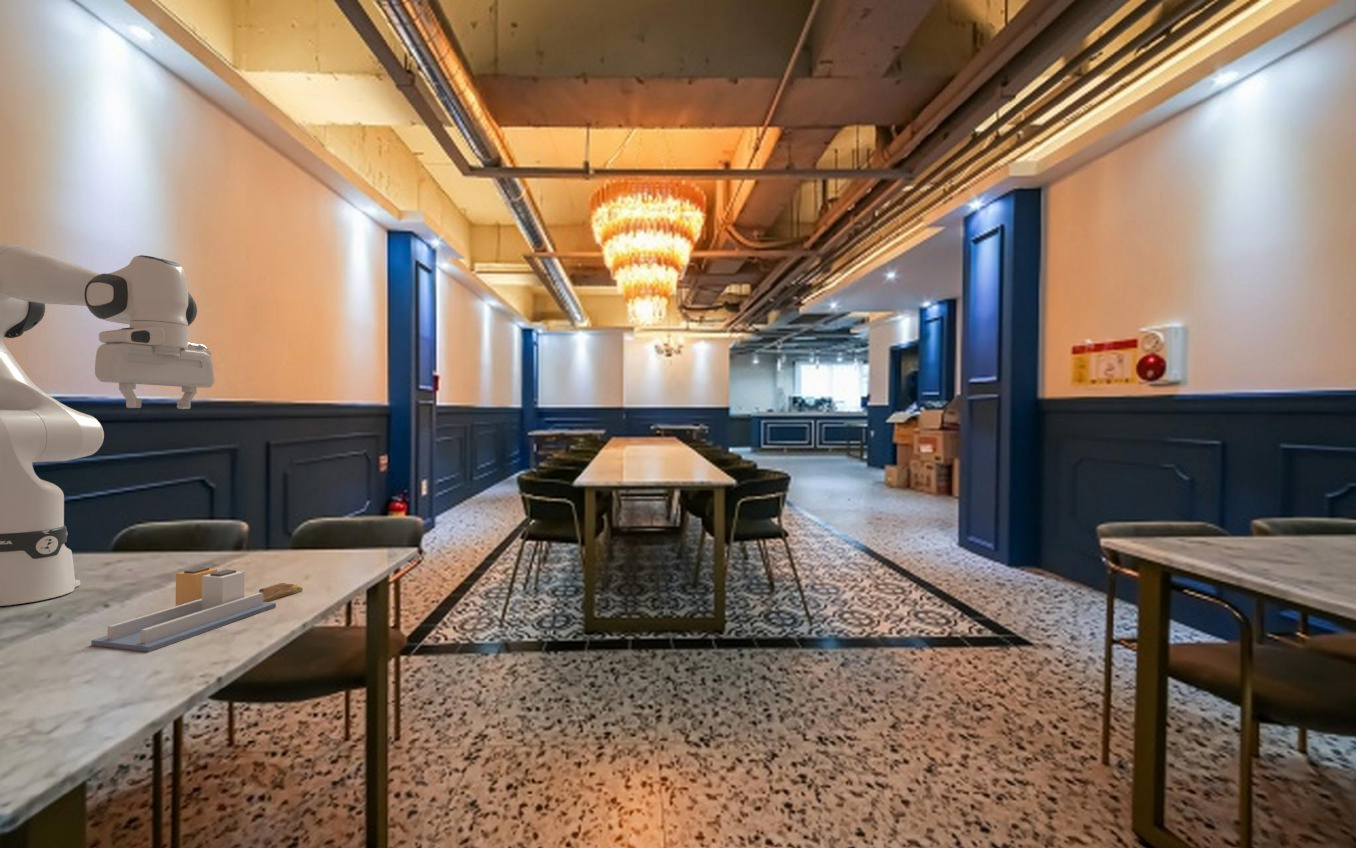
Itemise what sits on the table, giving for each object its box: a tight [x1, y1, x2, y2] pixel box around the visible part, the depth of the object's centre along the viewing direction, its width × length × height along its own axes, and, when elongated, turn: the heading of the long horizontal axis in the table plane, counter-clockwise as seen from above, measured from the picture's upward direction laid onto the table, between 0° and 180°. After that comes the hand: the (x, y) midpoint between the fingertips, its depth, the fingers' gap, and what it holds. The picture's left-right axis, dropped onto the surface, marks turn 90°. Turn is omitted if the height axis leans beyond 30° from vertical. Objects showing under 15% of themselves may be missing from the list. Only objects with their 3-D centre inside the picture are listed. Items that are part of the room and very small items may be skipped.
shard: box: [258, 582, 303, 603], centre depth 128 cm, size 11×8×2 cm
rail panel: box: [90, 569, 277, 653], centre depth 110 cm, size 12×24×8 cm, turn 168°
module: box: [175, 566, 218, 606], centre depth 121 cm, size 5×4×7 cm
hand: (159, 408), depth 119 cm, fingers open, 8 cm apart
